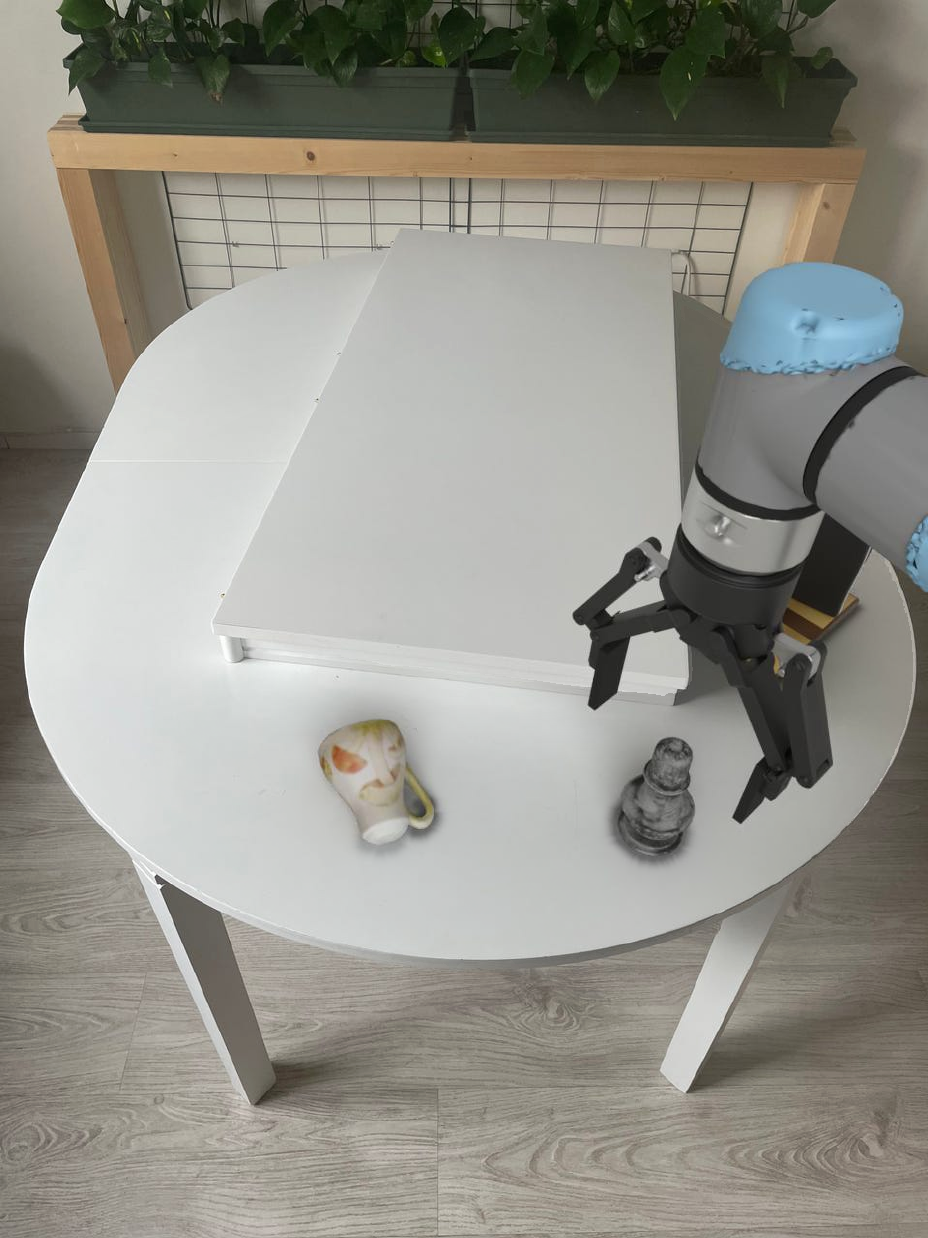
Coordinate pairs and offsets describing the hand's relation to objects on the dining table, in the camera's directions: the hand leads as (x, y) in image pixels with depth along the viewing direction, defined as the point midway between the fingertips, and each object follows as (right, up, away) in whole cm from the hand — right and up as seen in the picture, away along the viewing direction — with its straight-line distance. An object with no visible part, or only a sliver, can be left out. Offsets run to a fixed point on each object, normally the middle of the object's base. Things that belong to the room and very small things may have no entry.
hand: (671, 752), depth 69 cm
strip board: (+17, +9, +24) cm, 31 cm away
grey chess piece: (0, -7, +7) cm, 10 cm away
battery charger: (+20, +12, +25) cm, 35 cm away
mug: (-23, -5, +8) cm, 25 cm away
